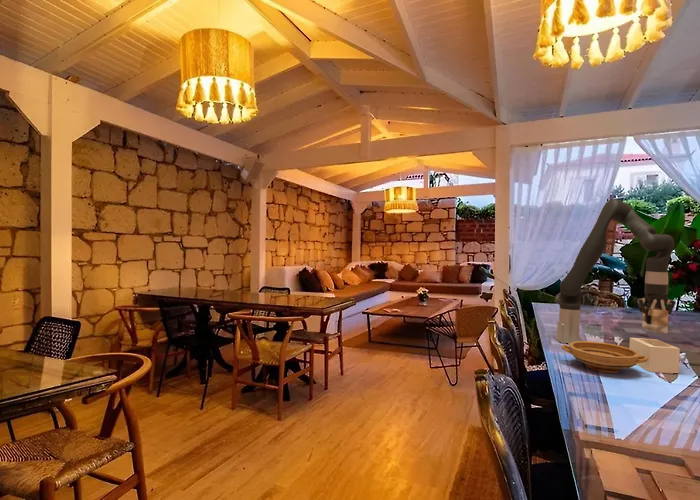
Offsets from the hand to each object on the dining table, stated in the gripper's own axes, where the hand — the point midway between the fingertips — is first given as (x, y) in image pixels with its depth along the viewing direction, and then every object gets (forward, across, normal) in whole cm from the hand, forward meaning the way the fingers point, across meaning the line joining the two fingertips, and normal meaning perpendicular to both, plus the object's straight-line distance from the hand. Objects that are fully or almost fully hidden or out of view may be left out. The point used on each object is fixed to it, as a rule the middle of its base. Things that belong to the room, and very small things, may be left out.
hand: (654, 324), depth 162 cm
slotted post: (+18, 0, 0) cm, 18 cm away
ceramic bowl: (+18, -22, -7) cm, 30 cm away
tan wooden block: (+3, 0, 0) cm, 3 cm away
